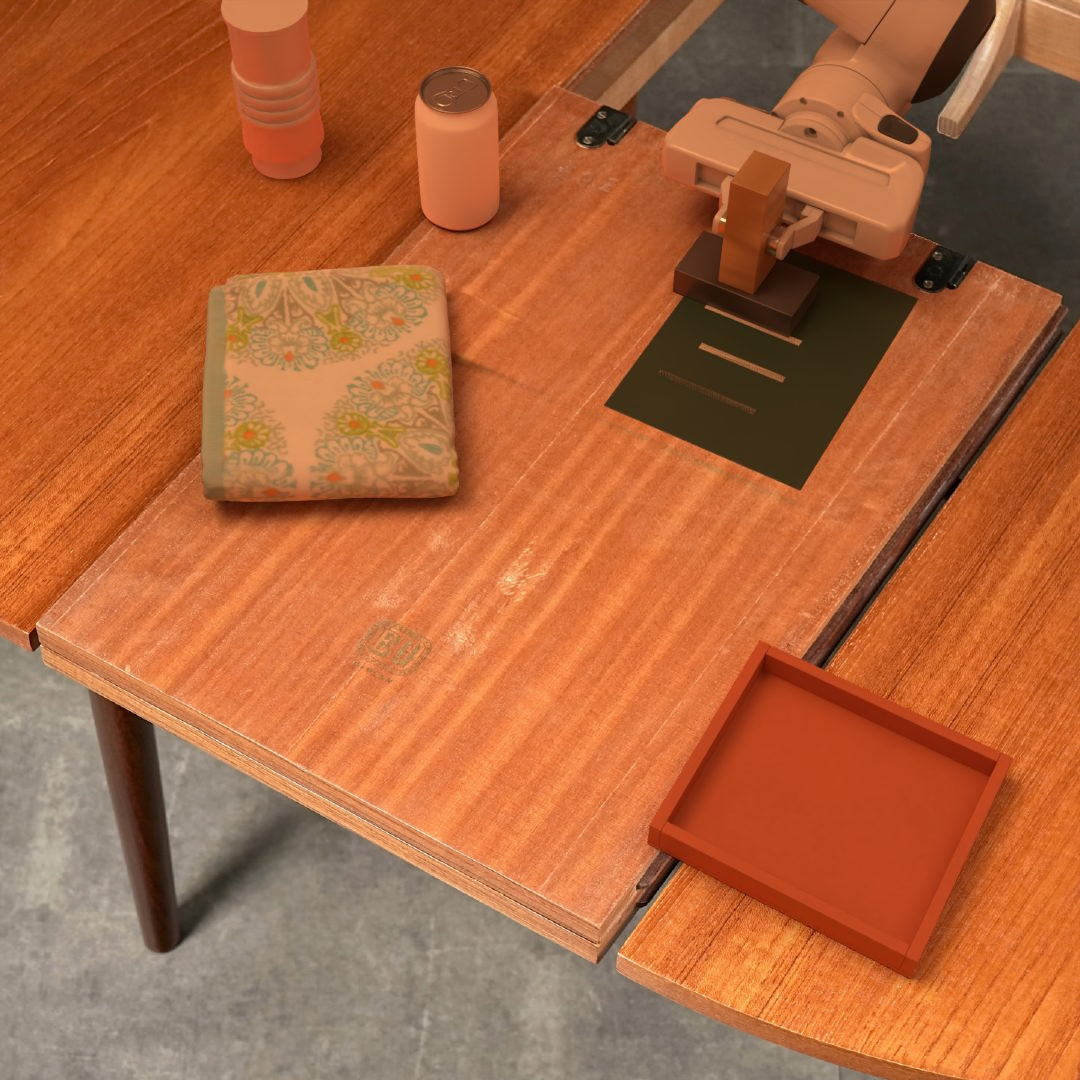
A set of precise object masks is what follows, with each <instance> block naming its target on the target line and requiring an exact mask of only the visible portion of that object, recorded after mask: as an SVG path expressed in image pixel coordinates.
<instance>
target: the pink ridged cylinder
mask: <svg viewBox="0 0 1080 1080" xmlns="http://www.w3.org/2000/svg"><path fill="white" fill-rule="evenodd" d="M309 5H310V4H309V0H221V4H220V12H221V18H222V20H223V22H224V23H225V24H226V27H227V32H228V39H229V45H230V50H231V56H232V58H231V62H230V67H229V68H230V74H231V79H232V80H231V81H232V85H233V91H234V92H233V93H234V98H235V105H236V109H237V113H238V115H239V116H240V118H241V125H242V126H241V127H242V140H243V145H244V147H245V148H246V150H247V152H248V153H249V154H250V155H251V162H252V163H251V164H252V165H253V167H254V168H255V170H256V171H257V172H259V173H260V174H261V175H263V176H266V177H267V178H271V179H275V180H293V179H298V178H300V177H301V178H302V177H303V176H306V175H307V174H310V173H311V172H313V171H314V170H315V169H316V168H317V167H318V166H319V164H320V162H321V160H322V157H323V152H322V147H321V146H322V144H323V142H324V140H325V134H326V133H325V128H324V125H323V122H322V116H321V112H320V109H321V104H322V95H321V92H320V89H321V87H320V82H319V73H318V69H317V68H318V64H317V58H316V54H315V53H314V52H313V50H312V47H311V42H310V33H309V32H310V31H309V25H308V24H309V23H308V13H309V9H310V6H309Z"/></svg>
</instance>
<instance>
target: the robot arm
mask: <svg viewBox="0 0 1080 1080" xmlns="http://www.w3.org/2000/svg"><path fill="white" fill-rule="evenodd" d="M797 1H798V2H799V3H800V4H803V5H805V6H809V7H810V8H811V9H813V10H815V11H816V12H817V13H819V14H820V15H822V16H823V17H824V18H826V19H827V20H828V21H830V22H831V23H833V24H834V25H835V26H836V28H835V29H834V30H833V31H832V33H831V34H830V35H829V36H828V37H827V38H826V40H825V41H824V42H823V43H822V45H821V46H820V47H819V48H818V50H817V52H816V53H815V55H814V58H813V59H812V63H811V65H810V66H809V67H807V68H805V69H804V70H803V71H802V72H801V73H800V74H799V75H798V76H797V77H796V79H795V80H794V81H793V82H792V84H791V85H790V86H789V88H787V90H786V92H785V93H784V94H783V96H782V97H781V99H779V101H778V102H777V104H776V105H775V106H774V107H773V108H772V110H771V111H769V110H765V109H763V108H760V107H757V106H754V105H750V104H749V105H748V104H745V103H742V102H739V101H738V100H736V99H735V98H732V97H729V96H723V95H722V96H720V97H715V98H713V97H709V98H706V97H703V98H700V99H699V100H698V101H696V102H695V104H694V105H693V106H692V107H691V108H690V110H689V111H688V112H687V113H686V114H685V115H684V116H683V117H681V119H680V120H678V121H677V122H676V123H675V124H674V125H673V126H672V127H671V128H670V130H668V132H667V133H666V134H665V136H664V138H663V142H662V147H661V154H660V155H661V157H660V158H661V159H660V162H661V169H662V172H663V174H664V177H665V178H666V179H668V180H670V181H672V182H675V183H678V184H680V185H683V186H686V187H689V188H691V189H694V190H697V191H699V192H702V193H704V194H707V195H709V196H712V197H715V198H717V199H719V200H718V211H717V212H716V214H715V215H714V217H713V220H712V225H711V233H712V234H714V235H717V236H719V237H722V238H724V230H725V221H726V213H727V205H728V196H729V188H730V181H731V180H732V179H733V177H734V176H735V175H736V173H737V172H738V171H739V170H740V168H741V167H742V166H743V164H744V163H745V162H746V160H747V159H748V158H749V156H750V155H751V154H752V152H753V151H754V150H756V151H759V152H761V153H764V154H767V155H769V156H772V157H775V158H777V159H780V160H783V161H785V162H788V163H790V164H791V167H790V174H789V180H788V187H787V193H786V199H785V206H784V212H783V219H782V224H785V225H788V226H783V225H781V226H780V225H776V226H775V228H774V229H773V231H772V232H771V233H770V235H769V236H768V238H767V241H766V248H765V254H768V255H770V256H773V257H775V258H778V259H780V260H783V259H784V257H785V256H786V255H787V253H788V252H789V250H790V249H792V250H794V249H796V248H799V247H801V246H804V245H806V244H809V243H812V242H814V241H815V240H816V238H817V237H820V238H822V239H825V240H827V241H830V242H833V243H835V244H837V245H840V246H843V247H846V248H848V249H851V250H853V251H856V252H858V253H861V254H864V255H867V256H869V257H872V258H874V259H877V260H878V261H879V260H880V261H889V260H892V259H895V258H897V257H899V256H901V254H902V252H903V251H904V249H905V247H906V246H907V244H908V242H909V239H910V237H911V235H912V231H913V229H914V226H915V222H916V219H917V214H918V211H919V206H920V204H921V197H922V193H923V189H924V187H925V186H924V185H925V183H926V180H927V176H928V172H929V167H930V160H931V153H932V139H931V137H930V136H929V135H928V134H927V133H925V132H924V131H922V130H921V129H919V128H918V127H916V126H915V125H913V124H911V123H910V122H908V121H907V120H906V119H905V118H904V117H906V115H907V114H908V113H909V111H910V109H911V108H912V107H913V105H916V104H921V103H923V102H924V103H925V102H926V101H929V100H931V99H934V98H936V97H939V96H941V95H942V94H944V93H945V92H946V91H947V90H948V89H949V88H950V87H951V85H952V84H953V83H954V82H955V80H956V79H957V78H958V77H959V75H960V74H961V72H962V71H963V69H964V67H965V66H966V64H967V62H968V61H969V59H970V57H971V55H973V53H974V52H975V50H976V49H977V48H978V46H979V45H980V44H981V43H982V41H983V40H984V39H985V37H986V35H987V34H988V32H989V30H990V29H991V27H992V25H993V23H994V22H995V20H996V17H997V0H797Z"/></svg>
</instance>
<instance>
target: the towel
mask: <svg viewBox="0 0 1080 1080" xmlns="http://www.w3.org/2000/svg"><path fill="white" fill-rule="evenodd" d="M443 276H444V275H443V272H442V271H440V270H438V268H436V267H435V266H434V267H433V266H429V265H423V264H392V265H391V264H390V265H370V266H359V267H357V266H356V267H345V268H344V267H343V268H323V269H311V270H302V271H273V272H259V273H243V274H242V273H241V274H240V273H239V274H235V275H232V276H230V277H227V279H226V281H225V284H218V285H214V286H212V287H211V288H210V290H209V293H208V298H207V307H206V308H207V309H206V334H205V335H206V336H205V354H204V355H205V356H204V363H203V365H204V366H203V374H202V375H203V376H202V395H201V396H202V397H201V415H202V416H201V447H200V457H201V463H202V471H201V475H200V476H201V482H202V485H203V493H202V495H203V497H204V498H205V499H206V500H209V501H221V502H222V501H223V502H225V501H228V502H243V503H256V502H258V503H261V502H262V503H263V502H266V503H267V502H272V503H273V502H300V501H301V502H302V501H321V500H342V499H365V498H369V499H371V498H376V499H383V498H384V499H385V498H386V499H399V498H400V499H434V498H443V497H451V496H452V497H453V496H454V495H456V494H457V493H458V490H459V488H460V480H459V476H460V468H459V465H458V459H459V458H458V457H459V456H458V455H459V454H458V451H457V450H456V446H455V444H456V442H455V441H456V425H455V409H454V408H455V407H454V386H453V366H452V365H453V364H452V351H451V349H452V348H451V345H452V344H451V330H450V320H449V309H448V297H447V290H446V288H447V287H446V280H445V278H444V277H443Z"/></svg>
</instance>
